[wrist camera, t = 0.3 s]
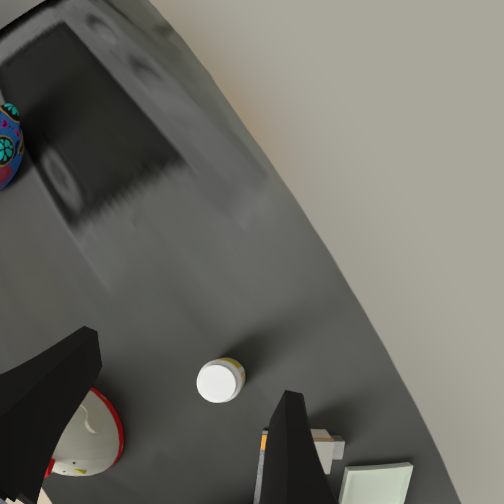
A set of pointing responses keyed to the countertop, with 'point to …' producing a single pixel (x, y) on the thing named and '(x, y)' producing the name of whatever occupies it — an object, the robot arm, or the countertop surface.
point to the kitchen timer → (89, 439)
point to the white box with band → (324, 447)
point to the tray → (375, 484)
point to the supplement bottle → (221, 380)
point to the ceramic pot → (10, 143)
